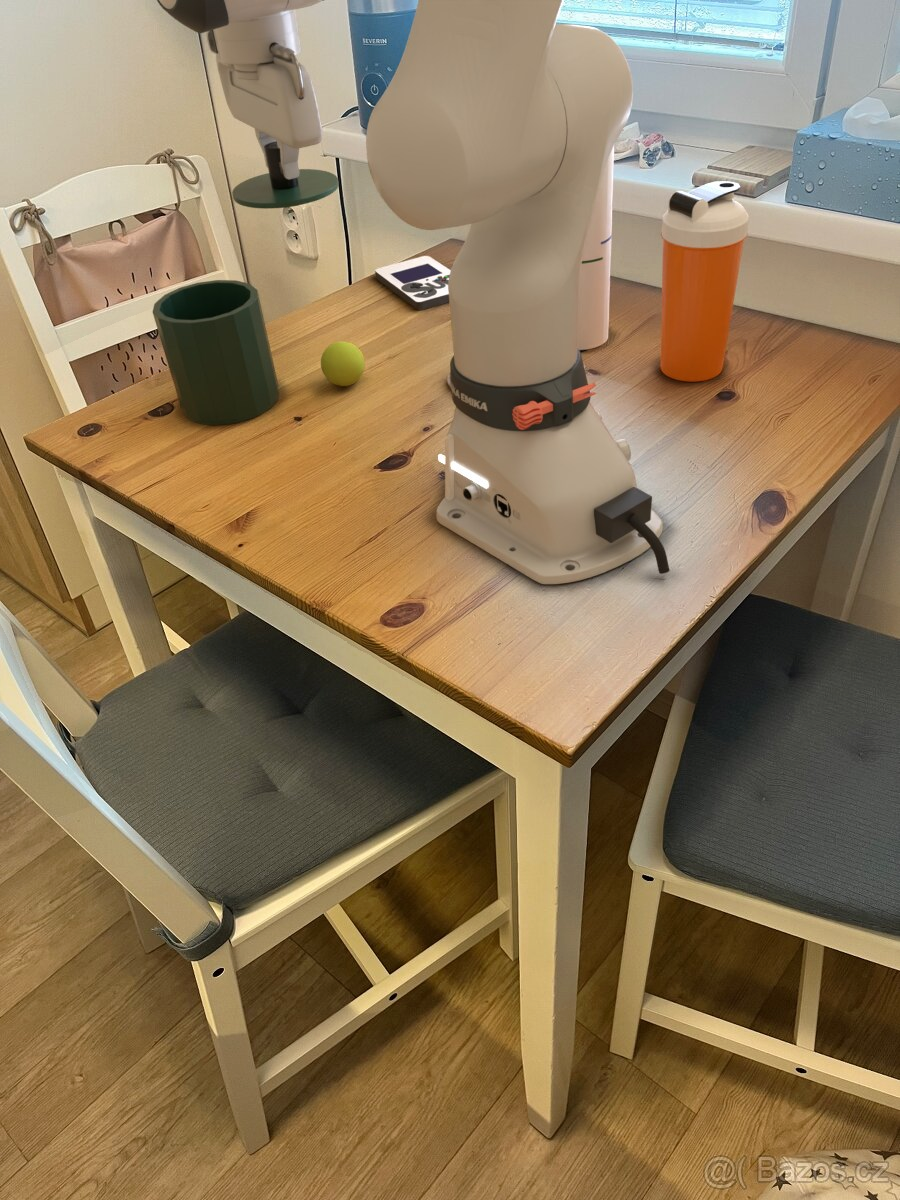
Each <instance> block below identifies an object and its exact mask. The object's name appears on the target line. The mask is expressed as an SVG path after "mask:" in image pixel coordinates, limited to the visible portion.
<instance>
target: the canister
mask: <svg viewBox="0 0 900 1200" xmlns="http://www.w3.org/2000/svg"><path fill="white" fill-rule="evenodd" d="M152 315H153V318H154V323H155V325H156V329H157V332H158V336H159V339H160V342H161V346H162V348H163V352H164V356H165V359H166V362H167V365H168V366H167V367H168V369H169V373H170V375H171V380H172V382H173V386H174V389H175V392H176V396H177V399H178V402H179V405H180V409H181V410H182V412H183V414H184V416H185V417H186V418H187V419H188V420H190V421H192V422H193V423H197V424H201V425H206V426H225V425H234V424H238V423H242V422H246V421H249V420H252V419H255V418H256V417H258V416H261V415H263V414H265V413H266V412H268V411H269V410H270V409H272V408H273V406H274V405H275V404H276V403H277V402H278V401H279V397H280V390H279V382H278V378H277V372H276V367H275V364H274V363H275V362H274V359H273V354H272V350H271V345H270V341H269V337H268V332H267V328H266V327H267V326H266V322H265V317H264V314H263V309H262V304H261V299H260V295H259V291H258V289H257V288H256V287H254V286H253V284H251V283H248V282H244V281H242V280H241V281H240V280H236V279H234V280H233V279H216V280H215V279H213V280H208V281H207V280H206V281H199V282H194V283H191V284H188V285H185V286H181V287H179V288H176V289H174V290H172V291H170V292H168V293H165V294H163V296H161V297H160V298H159V299H158V300H157V301H156V302H155V303H154V304H153V309H152Z"/></svg>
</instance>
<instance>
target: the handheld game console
mask: <svg viewBox="0 0 900 1200" xmlns="http://www.w3.org/2000/svg"><path fill="white" fill-rule="evenodd" d="M450 272H451V269H450V268H448V267H446V266H445V265H444V264H441V263H440V262H439V261H437V260H436V259H434V258H433V257H431V256H430V255H422V256H418V257H415V258H411V259H407V260H403V261H400V262H397V263H392V264H389V265H385V266H382V267H378V268H376V269H374V274H375V279H376V280H377V281H378V282H380V283H381V284H382V285H383V286H385V287H386V288H387V289H389V290H390V291H391V292H393V293H394V294H395V295H397V296H398V297H399V298H401V299H402V300H404V301H405V302H406V303H407V304H409V305H410V306H411V307H413V308H414V309H415V310H417V311H424V310H427V309H431V308H434V307H437V306H440V305H444V304H449V291H448V283H449V276H450Z"/></svg>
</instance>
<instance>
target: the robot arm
mask: <svg viewBox="0 0 900 1200" xmlns="http://www.w3.org/2000/svg"><path fill="white" fill-rule="evenodd" d="M156 1H157V3H158V5H159V6H160V7H161V8H162V10H163V11H165V12H166V13H167V14H168V15H169V16H170V17H172V18H173V19H174V20H176V21H177V22H178V23H180V24H182V25H183V26H185V27H186V28H188V29H190V30H191V31H194V32H196V33H197V34H204V33H206V35H205V36H206V41H207V45H208V49H209V51H210V52H211V53H212V54H215V63H216V67H217V72H218V76H219V81H220V83H221V87H222V88H221V89H222V91H223V95H224V99H225V102H226V104H227V108H228V109H229V111H230V114H231V116H232V117H233V118H234V119H236V120H238V121H239V122H241V123H242V124H245V125H248V126H249V127H251V128H253V129H254V133H255V137H256V140H257V142H258V144H259V146H260V149H261V152H262V153H263V157H264V162H265V166H266V168H267V169H268V165H267V160H266V155H265V149H264V146H265V145H266V144H268V143H271V142H276V141H277V145H278V148H280V157H281V161H279V167H280V173H281V175H282V176H283V177H285V178H286V179H293V178H297V177H298V176H299V169H300V166H299V163H298V161H299V155H300V154H299V153H300V149H302V148H308V147H310V146H316V145H319V144H320V143H321V141H322V137H323V127H322V121H321V115H320V111H319V105H318V101H317V96H316V92H315V88H314V83H313V81H312V78H311V74H310V72H309V70H308V69H307V68H306V66H304V64H302V63H301V62H300V61H298V59H297V56H298V55H299V54H301V52H302V46H301V38H300V33H299V26H298V20H297V12H296V10H299V9H304V8H309V7H312V6H315V5H316V4H318V3H320V2H322V1H325V0H156ZM564 1H565V0H417V4H416V9H415V13H414V17H413V19H412V24H411V28H410V31H409V33H408V38H407V42H406V44H405V48H404V51H403V53H402V56H401V59H400V61H399V64H398V66H397V68H396V70H395V73H394V74H393V77H392V79H391V81H390V82H389V84H388V86H387V87H386V89H385V90H384V92H383V94H382V95H381V96H380V98H379V99H378V100H377V102H376V104H375V105H374V107H373V109H372V111H371V114H370V116H369V119H368V123H367V128H366V136H365V149H366V150H365V151H366V160H367V165H368V169H369V172H370V173H369V174H370V176H371V179H372V182H373V184H374V187H375V188H376V191H377V192H378V194H379V196H380V198H381V199H382V200H383V202H384V204H385V205H386V206H387V208H389V210H391V212H392V213H393V214H395V216H397V217H398V218H399V219H400V220H401V221H403V222H404V223H405V224H407V225H409V226H411V227H413V228H416V229H419V230H423V231H424V230H425V231H437V230H443V229H451V228H458V227H461V226H467V225H470V227H469V230H468V232H467V235H466V238H465V241H464V243H463V244H462V246H461V248H460V250H459V252H458V253H457V254H456V257H455V259H454V261H453V263H452V266H451V268H450V270H451V272H450V276H449V283H448V291H449V302H448V304H449V313H450V314H449V315H450V326H451V327H450V328H451V340H452V350H453V351H452V352H453V354H452V357H451V359H450V363H449V369H450V370H449V374H450V376H449V377H450V386H449V388H450V387H451V388H450V390H451V400H452V402H453V404H454V406H455V410H454V413H453V417H452V420H451V424H450V426H449V429H448V431H447V434H446V437H445V440H444V455H443V454H442V453H440V454H438V455H437V456H438V462H440V463H442V464H444V494H445V495H444V498H443V499H442V500H441V501H440V503H439V504H438V506H437V507H436V521H437V522H438V524H440V525H442V526H444V527H445V528H446V529H448V530H450V531H452V532H453V533H455V534H456V535H458V536H460V537H462V538H463V539H465V540H466V541H468V542H469V543H472V544H473V545H474V546H476V547H478V548H479V549H481V550H483V551H485V552H487V553H488V554H490V555H491V556H493V557H495V558H496V559H498V560H499V561H501V562H503V563H505V564H506V565H508V566H510V567H511V568H513V569H515V570H516V571H518V572H519V573H521V574H523V575H524V576H526V577H528V578H530V579H531V580H533V581H535V582H536V583H539V584H542V585H560V584H567V583H569V584H570V583H574V582H578V581H582V580H586V579H590V578H593V577H596V576H598V575H601V574H604V573H606V572H608V571H611V570H613V569H616V568H618V567H619V566H622V565H624V564H626V563H628V562H630V561H632V560H634V559H635V558H638V557H639V556H640V555H642V554H643V553H644V552H646V551H647V550H649V549H650V548H651V550H652V552H653V554H654V557H655V560H656V566H657V570H658V574H660V575H664V574H667V573H669V572H670V571H671V570H670V565H669V561H668V556H667V552H666V549H665V547H664V545H663V543H662V541H661V540H660V539H659V538H660V537H661V536H662V533H663V531H664V524H663V523H664V522H663V520H662V519H661V517H660V516H659V515H658V514H657V513H656V512H655V511H654V509H652V505H653V496H652V495H650V494H648V493H647V492H646V491H643V490H642V489H640V488H638V486H637V480H636V474H635V471H634V469H633V467H632V465H631V463H630V462H629V461H630V460H631V457H632V452H631V447H630V444H629V442H628V441H627V440H626V439H625V438H617V439H615V438H614V437H613V436H612V433H611V432H610V431H609V429H608V428H607V426H606V424H605V423H604V422H603V419H602V415H601V413H600V412H599V411H597V410H596V409H595V408H594V406H593V404H592V402H591V397H593V396H595V395H596V394H597V392H596V391H591V390H592V389H593V388H595V387H596V386H597V383H595V382H592V383H589V382H588V378H587V368H586V366H585V364H584V360H583V356H582V353H581V350H578V348H577V343H578V301H579V278H580V269H581V262H582V256H583V250H584V246H585V241H586V236H587V232H588V228H589V224H590V220H591V216H592V212H593V208H594V204H595V200H596V196H597V193H598V189H599V185H600V182H601V178H602V175H603V171H604V168H605V166H606V163H607V160H608V157H609V155H610V153H611V150H612V148H613V146H614V147H615V144H616V142H617V140H618V138H619V137H620V135H621V134H622V132H623V130H624V128H625V127H626V125H627V123H628V120H629V117H630V116H631V115H630V114H631V110H632V107H633V98H634V97H633V96H634V87H633V76H632V73H631V68H630V66H629V62H628V60H627V58H626V55H625V54H624V52H623V50H622V49H621V47H620V46H619V45H618V43H617V42H616V41H615V40H614V39H613V38H612V37H611V36H610V35H609V34H607V33H606V32H604V31H603V30H601V29H599V28H597V27H593V26H589V25H582V24H572V23H571V24H570V23H557V21H558V18H559V15H560V13H561V9H562V6H563V3H564Z"/></svg>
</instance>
